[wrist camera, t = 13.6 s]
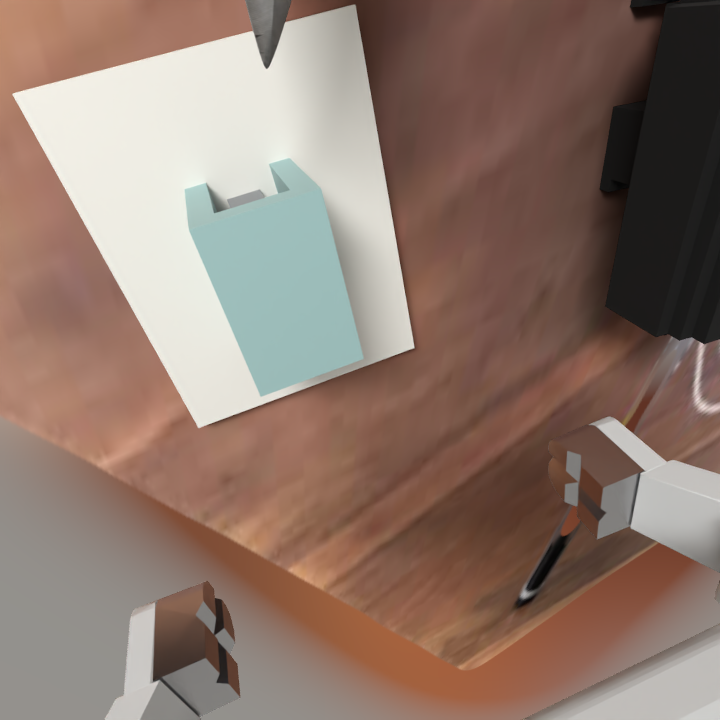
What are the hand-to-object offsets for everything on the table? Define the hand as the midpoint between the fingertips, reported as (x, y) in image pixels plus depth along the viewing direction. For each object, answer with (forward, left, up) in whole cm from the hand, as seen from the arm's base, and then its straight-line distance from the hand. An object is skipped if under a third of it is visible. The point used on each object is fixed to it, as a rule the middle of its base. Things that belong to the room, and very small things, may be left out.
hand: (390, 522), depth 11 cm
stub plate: (0, 0, -19) cm, 19 cm away
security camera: (-22, 0, -19) cm, 29 cm away
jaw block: (0, 0, -18) cm, 18 cm away
